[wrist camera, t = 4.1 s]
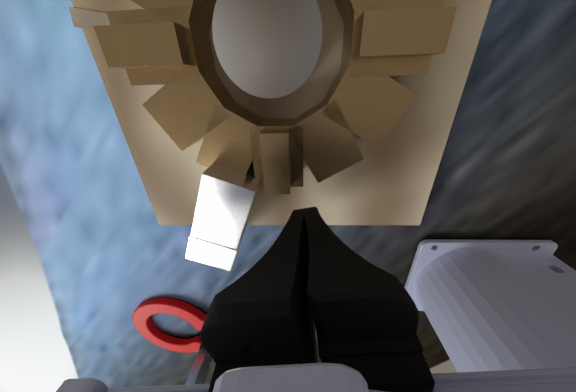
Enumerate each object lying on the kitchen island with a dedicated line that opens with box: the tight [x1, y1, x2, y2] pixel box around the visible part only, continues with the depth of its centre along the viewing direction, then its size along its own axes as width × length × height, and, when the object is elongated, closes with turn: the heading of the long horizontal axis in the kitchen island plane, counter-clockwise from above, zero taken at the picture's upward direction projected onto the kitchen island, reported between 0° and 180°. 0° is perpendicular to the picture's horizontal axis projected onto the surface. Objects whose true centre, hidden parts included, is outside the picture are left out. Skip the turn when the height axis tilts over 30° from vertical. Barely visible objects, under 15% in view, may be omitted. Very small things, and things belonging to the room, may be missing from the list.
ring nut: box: [93, 0, 457, 271], centre depth 9 cm, size 12×16×4 cm
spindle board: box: [69, 0, 492, 225], centre depth 9 cm, size 18×20×5 cm
